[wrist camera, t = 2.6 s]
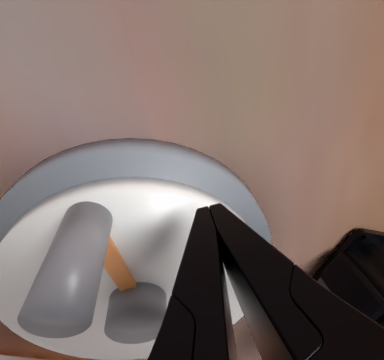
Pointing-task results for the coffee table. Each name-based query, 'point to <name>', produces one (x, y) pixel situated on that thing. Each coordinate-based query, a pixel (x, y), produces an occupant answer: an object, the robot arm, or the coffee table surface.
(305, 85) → the coffee table surface
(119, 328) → the dial
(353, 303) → the robot arm
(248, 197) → the base plate
